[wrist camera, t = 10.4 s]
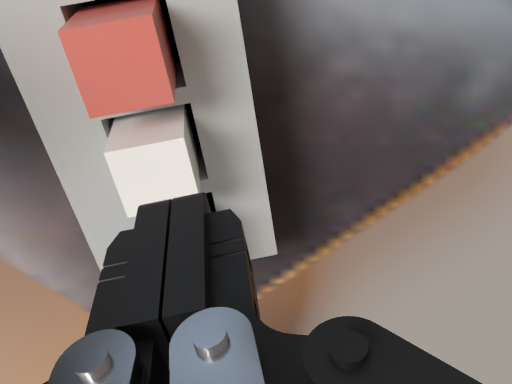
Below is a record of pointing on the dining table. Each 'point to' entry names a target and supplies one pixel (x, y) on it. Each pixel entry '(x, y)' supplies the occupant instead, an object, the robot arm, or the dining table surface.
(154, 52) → the red key
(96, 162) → the button panel
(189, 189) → the white key
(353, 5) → the dining table surface
